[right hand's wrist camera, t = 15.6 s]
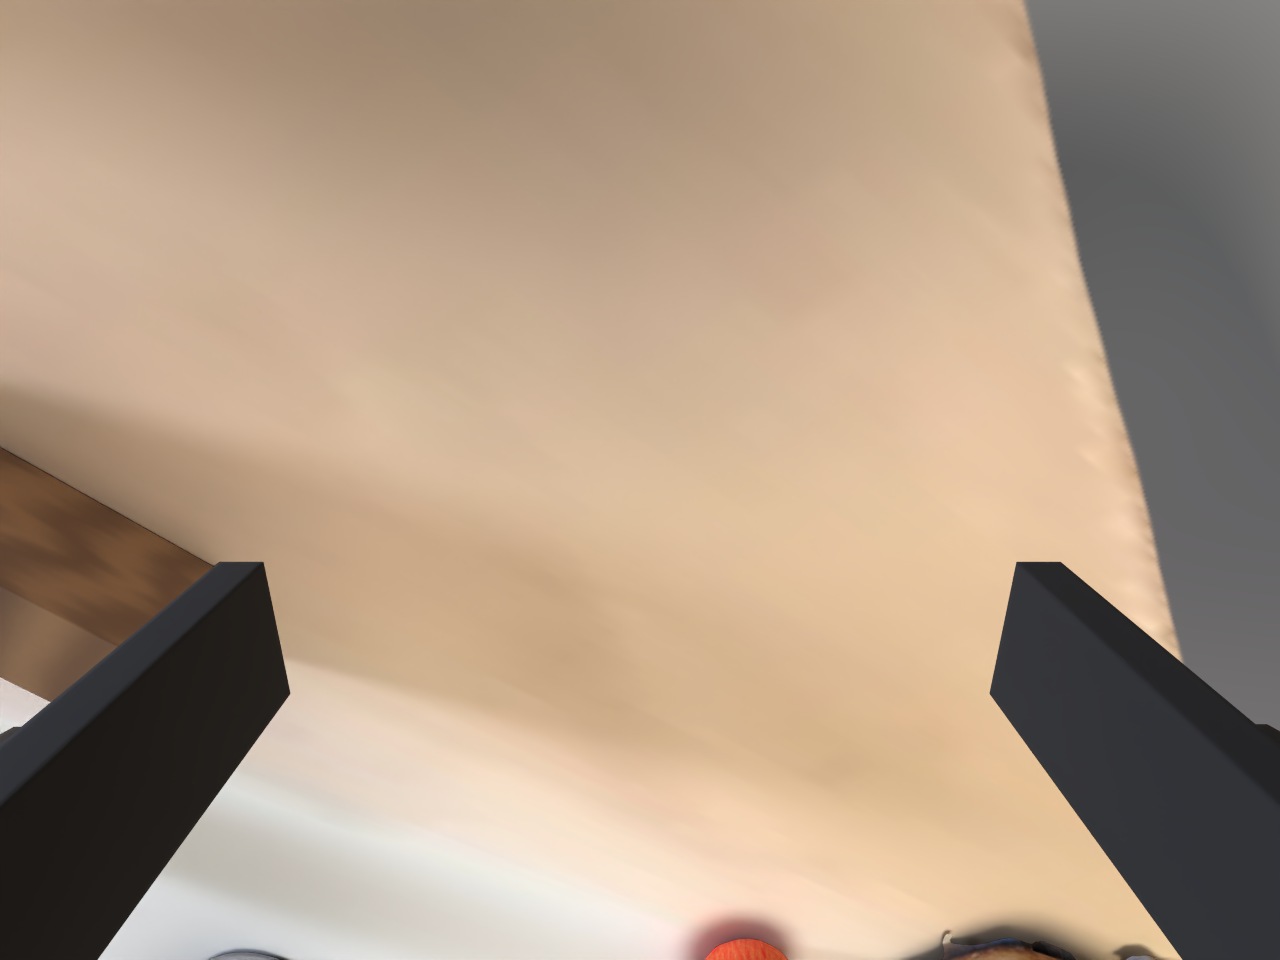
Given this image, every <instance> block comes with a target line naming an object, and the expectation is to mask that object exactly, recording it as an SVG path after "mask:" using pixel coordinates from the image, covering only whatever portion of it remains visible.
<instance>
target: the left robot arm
mask: <svg viewBox="0 0 1280 960" xmlns="http://www.w3.org/2000/svg"><path fill="white" fill-rule="evenodd" d="M210 960H279V959H276V958H274V957H271V956H267V955H263V954H258V953H249V952H237V953H228V954H224V955H220V956H217V957H215V958H212V959H210Z"/></svg>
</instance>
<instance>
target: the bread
mask: <svg viewBox="0 0 1280 960" xmlns="http://www.w3.org/2000/svg"><path fill="white" fill-rule="evenodd" d="M952 936H953V935H952V934H946V935H945V937H944V940H943V947H944V957H943V959H942V960H1076V959H1075V958H1074V957H1073V956H1072V954H1071V953H1069V952H1067V951H1064V950H1062V949H1060V948H1058V947H1055V946H1053V945H1050V944H1048V943H1045V942H1043V941H1041V942H1035V943H1033V944H1028V943H1025V942H1023V941H1020V940H1016V939H1012V938H1006V939H1000V940H996V941H993V942H989V943H984V944H977V945H960V944H954V943H951V941H950V939H951V937H952ZM1126 960H1156V959H1155V958H1154V957H1152V956H1149V955H1146V956H1131V957H1129V958H1128V959H1126Z"/></svg>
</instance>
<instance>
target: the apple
mask: <svg viewBox="0 0 1280 960" xmlns="http://www.w3.org/2000/svg"><path fill="white" fill-rule="evenodd" d="M705 960H788V959H787V958H786V957H785V956H784V955H783V954H782V953H781V952H780V951H779V950H777V949H776V948H774V947H773V946H771V945H769V944H767V943H765V942H762V941H759V940H755V939H737V940H733V941H730V942H727V943H723V944H721V945H719V946H717V947H716V948H715V949H714V950H712V952H711V953H710V954H709V955H708V956H707V957H706V959H705Z"/></svg>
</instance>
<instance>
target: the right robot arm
mask: <svg viewBox="0 0 1280 960" xmlns="http://www.w3.org/2000/svg"><path fill="white" fill-rule="evenodd" d="M289 695H290V689H289V684H288V680H287V675H286V670H285V665H284V660H283V655H282V650H281V645H280V641H279V636H278V631H277V626H276V621H275V616H274V611H273V606H272V601H271V597H270V592H269V587H268V582H267V577H266V572H265V567H264V562H219V563H218V564H216V565H215V566H214V567H213V568H212V569H210V570H209V571H208V572H207V573H206V574H204V575H203V576H202V577H201V578H200V579H198V580H197V581H196V582H195V583H194V584H192V585H191V586H190V587H189V588H188V589H186V590H185V591H184V592H183V593H182V594H180V595H179V596H178V597H177V598H176V599H174V600H173V601H172V602H171V603H170V604H168V605H167V606H166V607H165V608H164V609H162V610H161V611H160V612H159V613H158V614H156V615H155V616H154V617H153V618H152V619H150V620H149V621H148V622H147V623H146V624H144V625H143V626H142V627H141V628H140V629H138V630H137V631H136V632H135V633H134V634H132V635H131V636H130V637H129V638H128V639H126V640H125V641H124V642H123V643H122V644H120V645H119V646H118V647H117V648H116V649H114V650H113V651H112V652H111V653H110V654H108V655H107V656H106V657H105V658H104V659H102V660H101V661H100V662H99V663H98V664H96V665H95V666H94V667H93V668H92V669H90V670H89V671H88V672H87V673H86V674H84V675H83V676H82V677H81V678H80V679H78V680H77V681H76V682H75V683H74V684H72V685H71V686H70V687H69V688H68V689H66V690H65V691H64V692H63V693H62V694H60V695H59V696H58V697H57V698H56V699H54V700H53V701H52V702H51V703H50V704H48V705H47V706H46V707H45V708H44V709H42V710H41V711H40V712H39V713H38V714H36V715H35V716H34V717H33V718H32V719H30V720H29V721H28V722H27V723H25V724H24V725H23V726H22V727H13V728H11V729H9V730H7V731H6V732H4V733H2V734H0V960H98V958H99V957H100V955H101V954H102V953H103V951H104V950H105V949H106V947H107V946H108V944H109V943H110V942H111V940H112V939H113V938H114V936H115V935H116V933H117V932H118V931H119V929H120V928H121V926H122V925H123V924H124V922H125V921H126V920H127V918H128V917H129V915H130V914H131V913H132V911H133V910H134V909H135V907H136V906H137V904H138V903H139V902H140V900H141V899H142V898H143V896H144V895H145V893H146V892H147V891H148V889H149V888H150V887H151V885H152V884H153V882H154V881H155V880H156V878H157V877H158V875H159V874H160V873H161V871H162V870H163V869H164V867H165V866H166V864H167V863H168V862H169V860H170V859H171V858H172V856H173V855H174V853H175V852H176V851H177V849H178V848H179V847H180V845H181V844H182V842H183V841H184V840H185V838H186V837H187V835H188V834H189V833H190V831H191V830H192V829H193V827H194V826H195V824H196V823H197V822H198V820H199V819H200V818H201V816H202V815H203V813H204V812H205V811H206V809H207V808H208V807H209V805H210V804H211V802H212V801H213V800H214V798H215V797H216V796H217V794H218V793H219V791H220V790H221V789H222V787H223V786H224V784H225V783H226V782H227V780H228V779H229V778H230V776H231V775H232V773H233V772H234V771H235V769H236V768H237V767H238V765H239V764H240V762H241V761H242V760H243V758H244V757H245V756H246V754H247V753H248V751H249V750H250V749H251V747H252V746H253V744H254V743H255V742H256V740H257V739H258V738H259V736H260V735H261V733H262V732H263V731H264V729H265V728H266V727H267V725H268V724H269V722H270V721H271V720H272V718H273V717H274V716H275V714H276V713H277V711H278V710H279V709H280V707H281V706H282V705H283V703H284V702H285V700H286V699H287V698H288V696H289ZM990 695H991V696H992V698H993V699H994V700H995V702H996V703H997V705H998V706H999V707H1000V709H1001V710H1002V711H1003V713H1004V714H1005V716H1006V717H1007V718H1008V720H1009V721H1010V722H1011V724H1012V725H1013V727H1014V728H1015V729H1016V731H1017V732H1018V733H1019V735H1020V736H1021V738H1022V739H1023V740H1024V742H1025V743H1026V744H1027V746H1028V747H1029V749H1030V750H1031V751H1032V753H1033V754H1034V756H1035V757H1036V758H1037V760H1038V761H1039V762H1040V764H1041V765H1042V767H1043V768H1044V769H1045V771H1046V772H1047V773H1048V775H1049V776H1050V778H1051V779H1052V780H1053V782H1054V783H1055V784H1056V786H1057V787H1058V789H1059V790H1060V791H1061V793H1062V794H1063V796H1064V797H1065V798H1066V800H1067V801H1068V802H1069V804H1070V805H1071V807H1072V808H1073V809H1074V811H1075V812H1076V813H1077V815H1078V816H1079V818H1080V819H1081V820H1082V822H1083V823H1084V824H1085V826H1086V827H1087V829H1088V830H1089V831H1090V833H1091V834H1092V835H1093V837H1094V838H1095V840H1096V841H1097V842H1098V844H1099V845H1100V847H1101V848H1102V849H1103V851H1104V852H1105V853H1106V855H1107V856H1108V858H1109V859H1110V860H1111V862H1112V863H1113V864H1114V866H1115V867H1116V869H1117V870H1118V871H1119V873H1120V874H1121V875H1122V877H1123V878H1124V880H1125V881H1126V882H1127V884H1128V885H1129V887H1130V888H1131V889H1132V891H1133V892H1134V893H1135V895H1136V896H1137V898H1138V899H1139V900H1140V902H1141V903H1142V904H1143V906H1144V907H1145V909H1146V910H1147V911H1148V913H1149V914H1150V915H1151V917H1152V918H1153V920H1154V921H1155V922H1156V924H1157V925H1158V926H1159V928H1160V929H1161V931H1162V932H1163V933H1164V935H1165V936H1166V938H1167V939H1168V940H1169V942H1170V943H1171V944H1172V946H1173V947H1174V949H1175V950H1176V951H1177V953H1178V954H1179V955H1180V957H1181V958H1182V960H1280V731H1278V730H1276V729H1275V728H1273V727H1271V726H1269V725H1267V724H1254V723H1253V722H1252V721H1251V720H1250V719H1248V718H1247V717H1246V716H1245V715H1244V714H1242V713H1241V712H1240V711H1239V710H1238V709H1236V708H1235V707H1234V706H1233V705H1232V704H1230V703H1229V702H1228V701H1227V700H1226V699H1224V698H1223V697H1222V696H1221V695H1220V694H1218V693H1217V692H1216V691H1215V690H1214V689H1212V688H1211V687H1210V686H1209V685H1208V684H1206V683H1205V682H1204V681H1203V680H1202V679H1200V678H1199V677H1198V676H1197V675H1196V674H1194V673H1193V672H1192V671H1191V670H1190V669H1188V668H1187V667H1186V666H1185V665H1184V664H1182V663H1181V662H1180V661H1179V660H1178V659H1176V658H1175V657H1174V656H1173V655H1172V654H1170V653H1169V652H1168V651H1167V650H1166V649H1164V648H1163V647H1162V646H1161V645H1160V644H1158V643H1157V642H1156V641H1155V640H1154V639H1152V638H1151V637H1150V636H1149V635H1148V634H1146V633H1145V632H1144V631H1143V630H1142V629H1140V628H1139V627H1138V626H1137V625H1136V624H1134V623H1133V622H1132V621H1131V620H1130V619H1128V618H1127V617H1126V616H1125V615H1124V614H1122V613H1121V612H1120V611H1119V610H1118V609H1116V608H1115V607H1114V606H1113V605H1112V604H1110V603H1109V602H1108V601H1107V600H1106V599H1104V598H1103V597H1102V596H1101V595H1100V594H1098V593H1097V592H1096V591H1095V590H1094V589H1092V588H1091V587H1090V586H1089V585H1088V584H1086V583H1085V582H1084V581H1083V580H1082V579H1080V578H1079V577H1078V576H1077V575H1076V574H1074V573H1073V572H1072V571H1071V570H1070V569H1068V568H1067V567H1066V566H1065V565H1064V564H1062V563H1061V562H1016V567H1015V572H1014V577H1013V582H1012V587H1011V592H1010V597H1009V601H1008V606H1007V611H1006V616H1005V621H1004V626H1003V631H1002V636H1001V641H1000V645H999V650H998V655H997V660H996V665H995V670H994V675H993V680H992V684H991V689H990Z"/></svg>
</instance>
